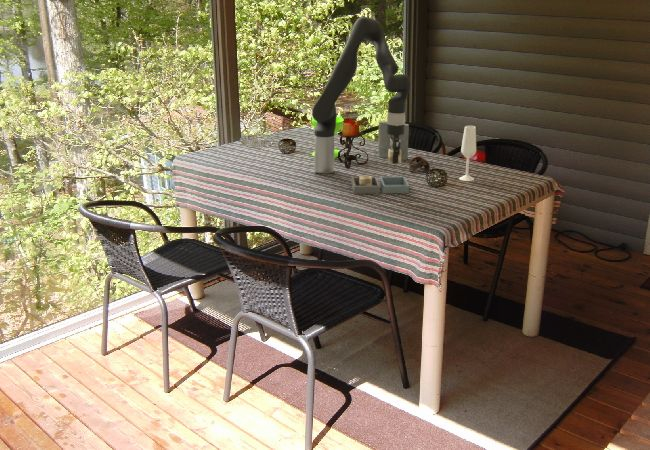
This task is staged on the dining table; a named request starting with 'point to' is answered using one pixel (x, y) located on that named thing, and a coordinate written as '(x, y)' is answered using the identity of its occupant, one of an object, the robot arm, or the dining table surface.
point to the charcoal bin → (365, 189)
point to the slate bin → (394, 185)
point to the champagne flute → (468, 148)
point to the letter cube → (390, 156)
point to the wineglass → (338, 126)
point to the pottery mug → (419, 163)
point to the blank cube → (365, 181)
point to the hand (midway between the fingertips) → (394, 161)
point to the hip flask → (385, 141)
